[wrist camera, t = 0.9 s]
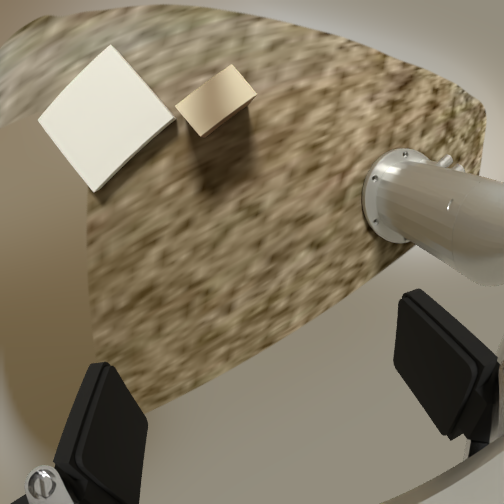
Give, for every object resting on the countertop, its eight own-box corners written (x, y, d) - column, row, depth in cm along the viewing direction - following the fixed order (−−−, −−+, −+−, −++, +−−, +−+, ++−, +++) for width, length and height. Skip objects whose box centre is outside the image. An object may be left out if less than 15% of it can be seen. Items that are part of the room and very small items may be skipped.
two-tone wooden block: (228, 81, 29) (231, 64, 22) (248, 105, 31) (257, 94, 23) (185, 114, 30) (174, 106, 23) (204, 138, 31) (200, 136, 24)
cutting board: (116, 49, 26) (110, 44, 24) (176, 118, 30) (173, 117, 28) (45, 120, 28) (37, 120, 26) (99, 189, 32) (93, 192, 30)
